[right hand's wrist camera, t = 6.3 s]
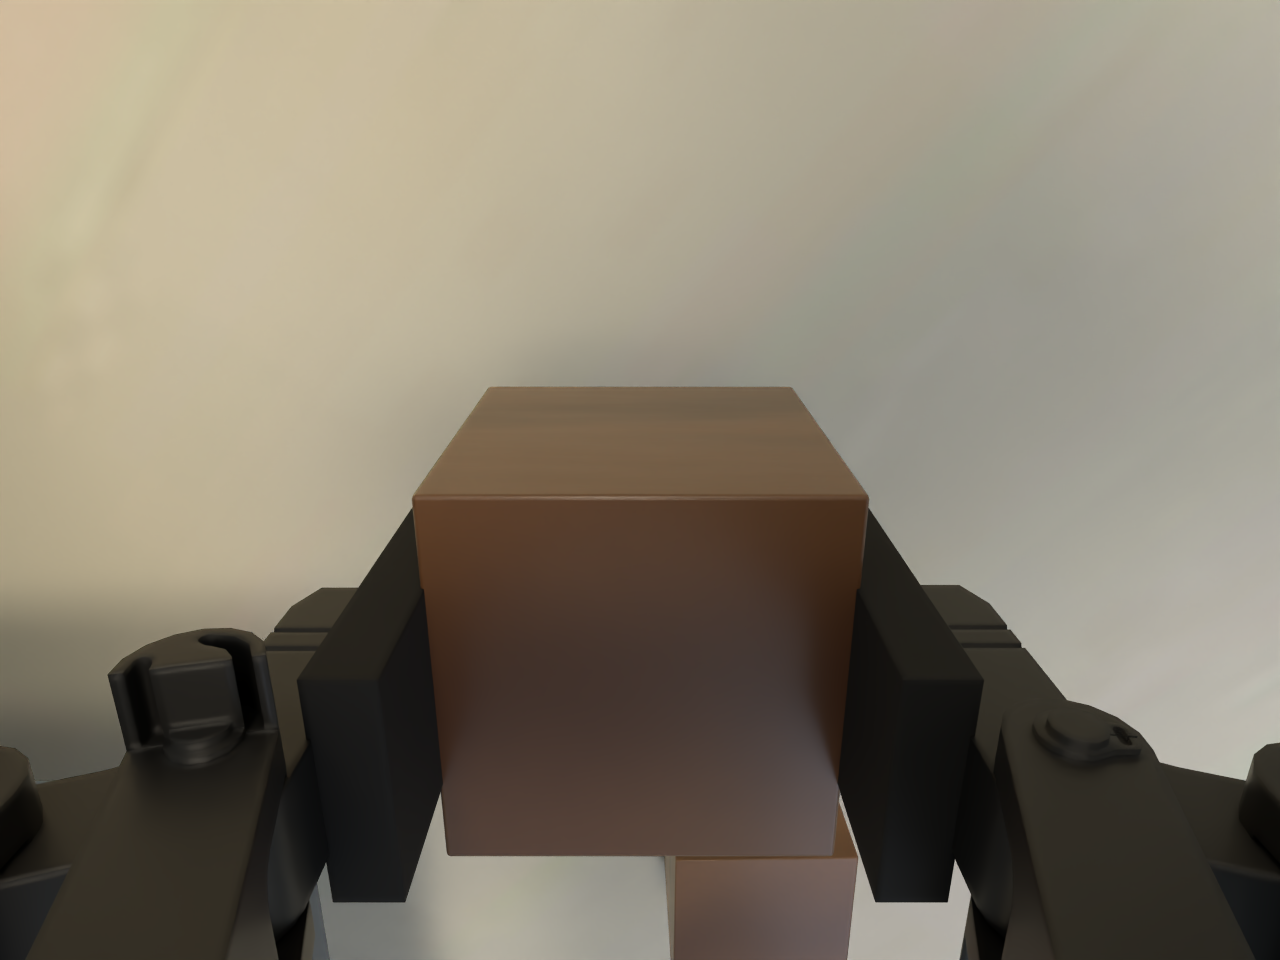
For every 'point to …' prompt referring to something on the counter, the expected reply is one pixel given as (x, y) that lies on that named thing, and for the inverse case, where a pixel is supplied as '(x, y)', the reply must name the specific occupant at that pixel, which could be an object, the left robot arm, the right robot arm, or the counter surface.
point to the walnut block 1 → (640, 622)
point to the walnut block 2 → (762, 904)
